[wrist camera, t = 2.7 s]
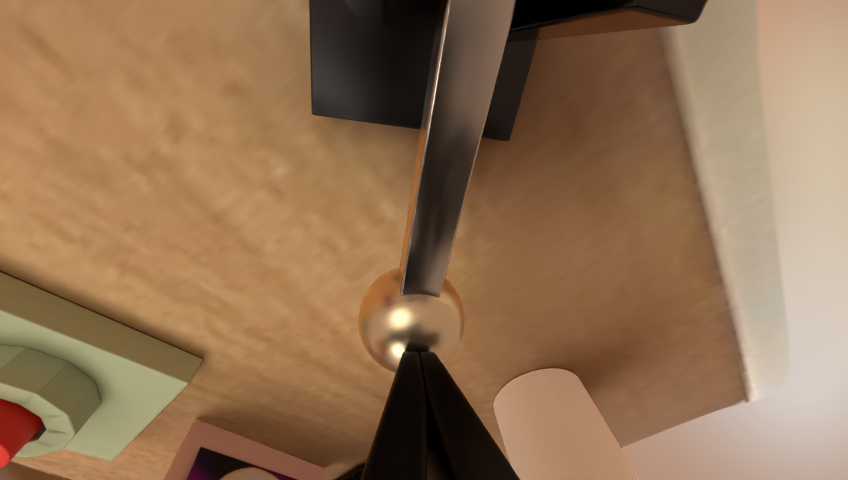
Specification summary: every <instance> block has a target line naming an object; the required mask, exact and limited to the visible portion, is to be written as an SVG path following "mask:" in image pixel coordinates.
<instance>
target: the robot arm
mask: <svg viewBox="0 0 848 480" xmlns="http://www.w3.org/2000/svg"><path fill="white" fill-rule="evenodd" d="M338 480H520V478H519V477H518V475H517V474H516V472H515V471H514V469H513V468H512V466H511V465H510V463H509V462H508V460H507V459H506V457H505V456H504V455H503V453H502V452H501V450H500V449H499V447H498V446H497V444H496V443H495V441H494V440H493V438H492V437H491V435H490V434H489V432H488V431H487V429H486V428H485V426H484V425H483V423H482V422H481V420H480V419H479V417H478V416H477V414H476V413H475V411H474V410H473V408H472V407H471V405H470V404H469V402H468V401H467V399H466V398H465V396H464V395H463V393H462V392H461V390H460V389H459V387H458V386H457V384H456V383H455V381H454V380H453V378H452V377H451V375H450V374H449V372H448V371H447V369H446V368H445V366H444V365H443V363H442V362H441V361H440V359H439V358H438V356H437V355H436V353H434V352H420V353H418V352H415V351H405V352H403V354H402V357H401V360H400V363H399V366H398V369H397V371H396V374H395V377H394V380H393V383H392V386H391V389H390V392H389V395H388V398H387V401H386V404H385V407H384V410H383V413H382V416H381V419H380V422H379V425H378V428H377V431H376V434H375V437H374V440H373V443H372V446H371V449H370V452H369V455H368V458H367V461H366V464H365V465H360V466H358V467H357V468H355V469H353V470H352V471H350V472H349V473H347V474H346V475H344V476H343V477H341V478H340V479H338Z"/></svg>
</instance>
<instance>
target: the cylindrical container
mask: <svg viewBox="0 0 848 480" xmlns="http://www.w3.org/2000/svg"><path fill="white" fill-rule="evenodd" d="M493 407H494V412H495V415H496V418H497V422H498V425H499V428H500V432H501V435H502V438H503V441H504V445H505V448H506V451H507V454H508V458H509V461H510V464H511V466H512V468H513V469H514V471H515V472H516V474H517V475H518V477H519V478H520V480H640V479H639V478H638V476H637V474H636V473H635V471H634V469H633V468H632V466H631V464H630V463H629V461H628V459H627V458H626V456H625V454H624V453H623V451H622V449H621V448H620V446H619V444H618V443H617V441H616V439H615V438H614V436H613V434H612V433H611V431H610V429H609V428H608V426H607V424H606V423H605V421H604V419H603V418H602V416H601V414H600V413H599V411H598V409H597V408H596V406H595V404H594V403H593V401H592V399H591V397H590V396H589V394H588V392H587V391H586V389H585V387H584V386H583V384H582V382H581V381H580V379H579V378H578V376H576V375H575V374H574V373H572V372H570V371H567V370H563V369H558V368H548V369H540V370H535V371H531V372H528V373H526V374H523V375H521V376H519V377H517V378H515V379H513V380H512V381H510V382H509V383H507V384H506V385H505V386H504V387H503V388H502V389H501V390H500V391H499V392H498V394H497V395H496V397H495V400H494V404H493Z"/></svg>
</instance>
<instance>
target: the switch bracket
mask: <svg viewBox="0 0 848 480" xmlns="http://www.w3.org/2000/svg"><path fill="white" fill-rule="evenodd" d="M707 1H708V0H517V2H516V6H515V10H514V13H513V17H512V21H511V25H510V29H509V33H508V36H507V40H506V44H505V48H504V52H503V56H502V60H501V63H500V67H499V71H498V75H497V79H496V83H495V87H494V90H493V94H492V98H491V102H490V106H489V110H488V113H487V117H486V121H485V125H484V129H483V133H482V137H481V138H486V139H494V140H501V141H509V140H510V136H511V133H512V129H513V125H514V122H515V118H516V115H517V111H518V107H519V104H520V100H521V96H522V93H523V89H524V86H525V82H526V78H527V75H528V71H529V68H530V64H531V60H532V57H533V53H534V49H535V46H536V42H537V40H540V39H549V38H559V37H569V36H579V35H588V34H598V33H608V32H618V31H627V30H637V29H647V28H657V27H666V26H676V25H686V24H692V23H694V22H696V21H697V20H698V19H699V17H700V15H701V13H702V11H703V9H704V7H705V5H706V3H707ZM439 2H440V0H309V9H310V55H311V102H312V114H313V115H318V116H326V117H333V118H340V119H348V120H355V121H362V122H369V123H377V124H384V125H391V126H399V127H406V128H413V129H421V122H422V116H423V109H424V102H425V96H426V89H427V82H428V76H429V69H430V62H431V56H432V49H433V42H434V36H435V29H436V22H437V16H438V9H439Z"/></svg>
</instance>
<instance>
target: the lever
mask: <svg viewBox="0 0 848 480" xmlns="http://www.w3.org/2000/svg"><path fill="white" fill-rule="evenodd" d="M516 2H517V0H440V2H439V9H438V16H437V22H436V29H435V36H434V42H433V49H432V56H431V62H430V69H429V76H428V82H427V89H426V96H425V102H424V109H423V116H422V122H421V129H420V136H419V142H418V149H417V156H416V162H415V169H414V176H413V182H412V189H411V196H410V202H409V209H408V216H407V222H406V229H405V236H404V242H403V249H402V256H401V262H400V268H397V269H394V270H391V271H389V272H387V273H385V274H384V275H382V276H381V277H380V278H378V279H377V280H376V281H375V282H374V283H373V284H372V285H371V287H370V288H369V289H368V291H367V293H366V294H365V296H364V298H363V301H362V304H361V307H360V312H359V330H360V335H361V338H362V341H363V344H364V346H365V348H366V349H367V351H368V353H369V354H370V355H371V356H372V358H373V359H374V360H375V361H376V362H377V363H379V364H380V365H381V366H383V367H384V368H386V369H388V370H390V371H392V372H395V373H396V371H397V369H398V366H399V363H400V360H401V357H402V354H403V352H405V351H415V352H418V353H420V352H434V353H436V355H437V356H438V358H439V359H440V361H441V362H442V363H443V364H444V363H445V362H446V361H447V360H448V359H449V358H450V357H451V356H452V355H453V354H454V352H455V351H456V349H457V347H458V345H459V343H460V341H461V338H462V335H463V331H464V310H463V305H462V302H461V300H460V297H459V295H458V293H457V292H456V290H455V288H454V287H453V286H452V285H451V283H450V282H449V281H448V280H447V279H446V278H445V275H446V271H447V268H448V264H449V260H450V256H451V252H452V248H453V244H454V241H455V237H456V233H457V229H458V225H459V221H460V217H461V214H462V210H463V206H464V202H465V198H466V194H467V191H468V187H469V183H470V179H471V175H472V171H473V167H474V164H475V160H476V156H477V152H478V148H479V144H480V140H481V137H482V133H483V129H484V125H485V121H486V117H487V113H488V110H489V106H490V102H491V98H492V94H493V90H494V87H495V83H496V79H497V75H498V71H499V67H500V63H501V60H502V56H503V52H504V48H505V44H506V40H507V36H508V33H509V29H510V25H511V21H512V17H513V13H514V10H515V6H516Z"/></svg>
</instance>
